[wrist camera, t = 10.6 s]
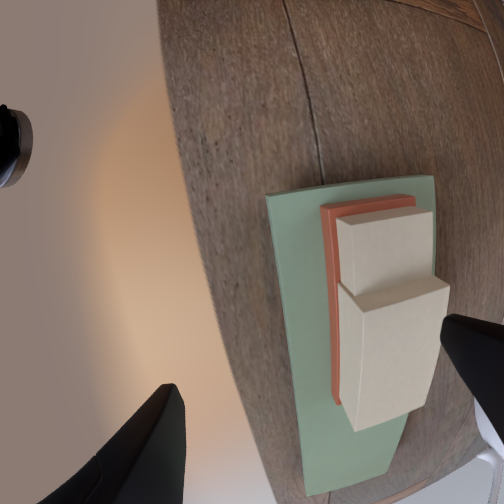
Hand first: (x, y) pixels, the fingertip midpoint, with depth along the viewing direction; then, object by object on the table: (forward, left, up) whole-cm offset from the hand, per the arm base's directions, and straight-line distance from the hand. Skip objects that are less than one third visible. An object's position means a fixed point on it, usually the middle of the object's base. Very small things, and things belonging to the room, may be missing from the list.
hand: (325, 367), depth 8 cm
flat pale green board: (+1, -15, -12) cm, 19 cm away
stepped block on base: (+4, -5, -9) cm, 11 cm away
